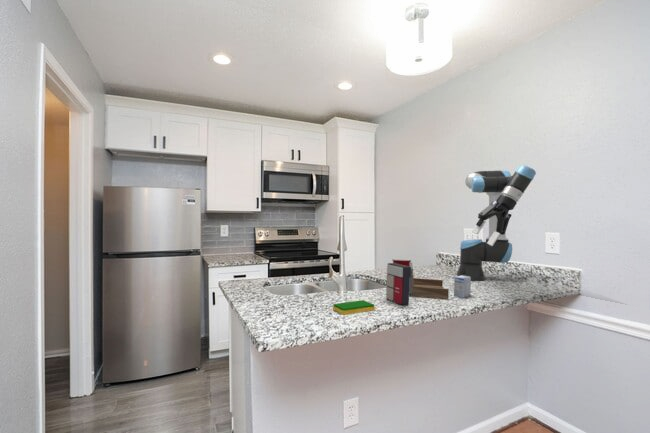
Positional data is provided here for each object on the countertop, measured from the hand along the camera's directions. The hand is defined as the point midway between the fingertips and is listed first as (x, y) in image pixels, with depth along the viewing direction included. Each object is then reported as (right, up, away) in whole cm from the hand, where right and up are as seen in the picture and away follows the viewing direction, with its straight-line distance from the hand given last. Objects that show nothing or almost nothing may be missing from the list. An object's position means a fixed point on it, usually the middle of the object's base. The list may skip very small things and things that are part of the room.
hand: (482, 239), depth 137 cm
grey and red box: (-42, -25, -13) cm, 50 cm away
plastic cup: (-28, -26, +34) cm, 51 cm away
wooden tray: (-23, -25, +6) cm, 35 cm away
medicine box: (-9, -26, 0) cm, 27 cm away
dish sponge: (-60, -24, -26) cm, 70 cm away
